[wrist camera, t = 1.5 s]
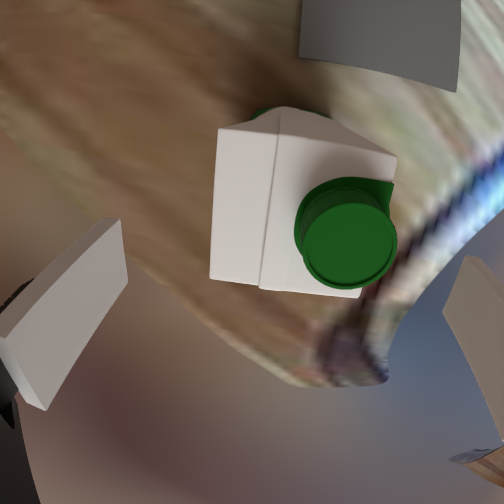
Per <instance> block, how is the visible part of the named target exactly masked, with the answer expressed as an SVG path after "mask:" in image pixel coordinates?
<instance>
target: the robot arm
mask: <svg viewBox="0 0 504 504" xmlns="http://www.w3.org/2000/svg"><path fill="white" fill-rule="evenodd" d="M127 283H128V277H127V270H126V264H125V256H124V248H123V240H122V231H121V222H120V219H118V218H106V217H102V218H101V219H100V220H99V221H98V222H97V223H95V224H94V225H93V226H92V227H91V228H90V229H88V230H87V231H86V232H85V233H84V234H83V235H81V236H80V237H79V238H78V239H77V240H76V241H75V242H74V243H72V244H71V245H70V246H69V247H68V248H67V249H66V250H65V251H63V252H62V253H61V254H60V255H59V256H58V257H57V258H56V259H55V260H54V261H53V262H52V263H50V264H49V265H48V266H47V267H46V268H45V269H44V270H43V271H42V272H41V273H40V274H39V275H38V276H37V277H36V278H33V279H32V280H30V281H28V282H26V283H25V284H23V285H21V286H20V287H19V288H18V289H17V290H16V291H15V292H14V293H13V294H12V297H9V298H8V299H7V301H5V302H4V305H2V306H1V307H0V504H41V503H40V500H39V497H38V494H37V491H36V487H35V484H34V480H33V477H32V473H31V469H30V466H29V462H28V458H27V454H26V449H25V444H24V439H23V434H22V429H21V423H20V417H19V411H18V405H17V402H16V400H15V398H14V396H15V394H16V392H17V391H18V390H19V392H20V393H21V394H22V396H23V398H24V399H25V401H26V402H27V403H29V404H31V405H33V406H36V407H38V408H40V409H42V410H45V411H46V410H47V409H48V407H49V405H50V403H51V402H52V400H53V398H54V396H55V395H56V393H57V391H58V390H59V388H60V386H61V384H62V383H63V381H64V379H65V378H66V376H67V374H68V373H69V371H70V369H71V368H72V366H73V364H74V363H75V361H76V359H77V358H78V357H79V355H80V353H81V352H82V350H83V349H84V347H85V345H86V344H87V342H88V341H89V339H90V338H91V336H92V335H93V333H94V331H95V330H96V328H97V327H98V325H99V324H100V322H101V321H102V319H103V318H104V316H105V315H106V313H107V312H108V310H109V309H110V307H111V306H112V304H113V303H114V301H115V300H116V299H117V297H118V296H119V294H120V293H121V291H122V290H123V289H124V287H125V286H126V284H127ZM442 313H443V315H444V317H445V318H446V320H447V322H448V324H449V326H450V328H451V329H452V331H453V333H454V335H455V337H456V339H457V341H458V343H459V345H460V346H461V349H462V351H463V353H464V355H465V357H466V359H467V361H468V363H469V365H470V367H471V369H472V371H473V373H474V375H475V378H476V380H477V382H478V384H479V386H480V389H481V391H482V393H483V396H484V398H485V400H486V403H487V405H488V407H489V410H490V412H491V415H492V417H493V419H494V422H495V425H496V427H497V430H498V433H499V435H500V438H501V441H504V285H503V284H502V283H501V282H500V281H499V279H498V278H497V277H496V276H495V275H494V274H493V272H492V271H491V270H490V269H489V268H488V267H487V266H486V265H485V263H484V262H483V261H482V260H481V259H480V258H479V257H473V256H466V255H465V257H464V260H463V263H462V266H461V268H460V271H459V273H458V276H457V278H456V281H455V283H454V286H453V288H452V291H451V293H450V295H449V298H448V300H447V302H446V305H445V307H444V309H443V311H442Z"/></svg>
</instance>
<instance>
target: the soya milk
mask: <svg viewBox="0 0 504 504" xmlns="http://www.w3.org/2000/svg"><path fill="white" fill-rule="evenodd" d="M397 160H398V157H397V156H396V155H394V154H392V153H390V152H389V151H387V150H385V149H383V148H382V147H380V146H378V145H376V144H375V143H373V142H371V141H369V140H367V139H366V138H364V137H362V136H360V135H358V134H356V133H354V132H353V131H351V130H349V129H347V128H345V127H344V126H342V125H341V124H339V123H338V122H336V121H335V120H333V119H331V118H330V117H328V116H327V115H325V114H322V113H318V112H314V111H310V110H305V109H299V108H293V107H285V106H278V107H271V108H264V109H258V110H257V111H256V112H255V114H254V115H253V116H252V118H251V119H250V120H249V121H247V122H243V123H239V124H235V125H231V126H227V127H223V128H219V129H218V138H217V151H216V165H215V179H214V195H213V213H212V231H211V253H210V279H216V280H223V281H230V282H237V283H245V284H252V285H259V288H261V289H267V290H276V291H282V290H285V291H293V292H302V293H311V294H320V295H329V296H339V297H350V298H358V297H359V296H360V293H361V290H362V287H364V286H367V285H369V284H371V283H373V282H374V281H376V280H377V279H378V278H380V277H381V276H382V275H383V274H384V273H385V272H386V271H387V270H388V268H389V267H390V265H391V264H392V262H393V260H394V257H395V254H396V250H397V233H396V230H395V226H394V225H393V223H392V221H391V220H390V211H389V203H390V199H391V195H392V191H393V187H394V184H393V183H392V180H393V177H394V173H395V169H396V164H397Z"/></svg>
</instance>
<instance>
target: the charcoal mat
mask: <svg viewBox="0 0 504 504" xmlns="http://www.w3.org/2000/svg"><path fill="white" fill-rule="evenodd" d="M460 34H461V0H302V13H301V27H300V40H299V52H298V58H302V59H310V60H318V61H325V62H331V63H337V64H343V65H349V66H354V67H359V68H364V69H369V70H374V71H378V72H383V73H387V74H391V75H395V76H399V77H403V78H407V79H411V80H414V81H418V82H421V83H425V84H428V85H431V86H435V87H438V88H441V89H444V90H447V91H450V92H456V89H457V79H458V68H459V55H460Z"/></svg>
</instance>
